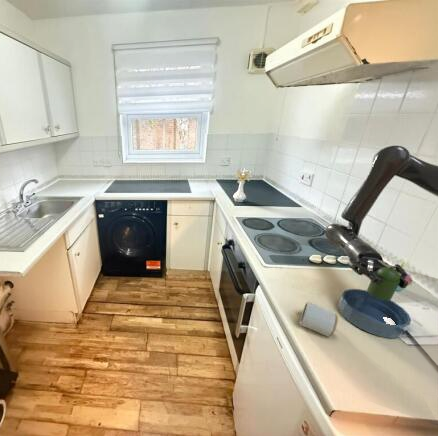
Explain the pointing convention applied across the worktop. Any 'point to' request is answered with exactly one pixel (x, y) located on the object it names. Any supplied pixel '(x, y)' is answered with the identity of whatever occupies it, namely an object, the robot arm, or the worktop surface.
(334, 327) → the ceramic mug
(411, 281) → the cupcake
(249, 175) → the flower vase
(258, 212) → the worktop surface
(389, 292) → the green rounded cylinder
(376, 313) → the bowl
